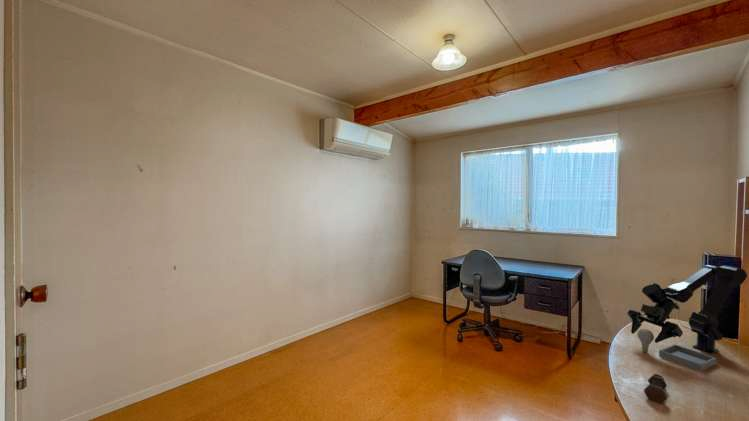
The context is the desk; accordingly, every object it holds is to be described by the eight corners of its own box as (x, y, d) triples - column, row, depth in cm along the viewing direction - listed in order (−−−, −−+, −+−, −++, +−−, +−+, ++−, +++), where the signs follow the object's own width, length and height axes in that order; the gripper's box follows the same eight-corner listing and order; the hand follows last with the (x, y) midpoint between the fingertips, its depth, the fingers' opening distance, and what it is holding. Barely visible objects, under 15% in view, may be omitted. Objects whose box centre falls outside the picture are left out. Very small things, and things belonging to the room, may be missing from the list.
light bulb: (649, 356, 135) (650, 333, 135) (634, 350, 140) (635, 328, 140) (655, 353, 138) (656, 330, 137) (640, 347, 142) (641, 326, 142)
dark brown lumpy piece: (660, 389, 115) (657, 407, 104) (644, 377, 118) (640, 393, 107) (672, 378, 113) (670, 396, 102) (656, 367, 116) (652, 382, 105)
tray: (674, 349, 141) (674, 344, 141) (716, 363, 129) (716, 357, 129) (658, 355, 135) (659, 350, 135) (701, 371, 124) (701, 365, 123)
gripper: (630, 292, 148) (612, 318, 145) (679, 305, 130) (659, 335, 127) (641, 307, 151) (624, 332, 148) (691, 322, 133) (672, 351, 130)
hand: (643, 337), depth 138 cm, fingers open, 9 cm apart
